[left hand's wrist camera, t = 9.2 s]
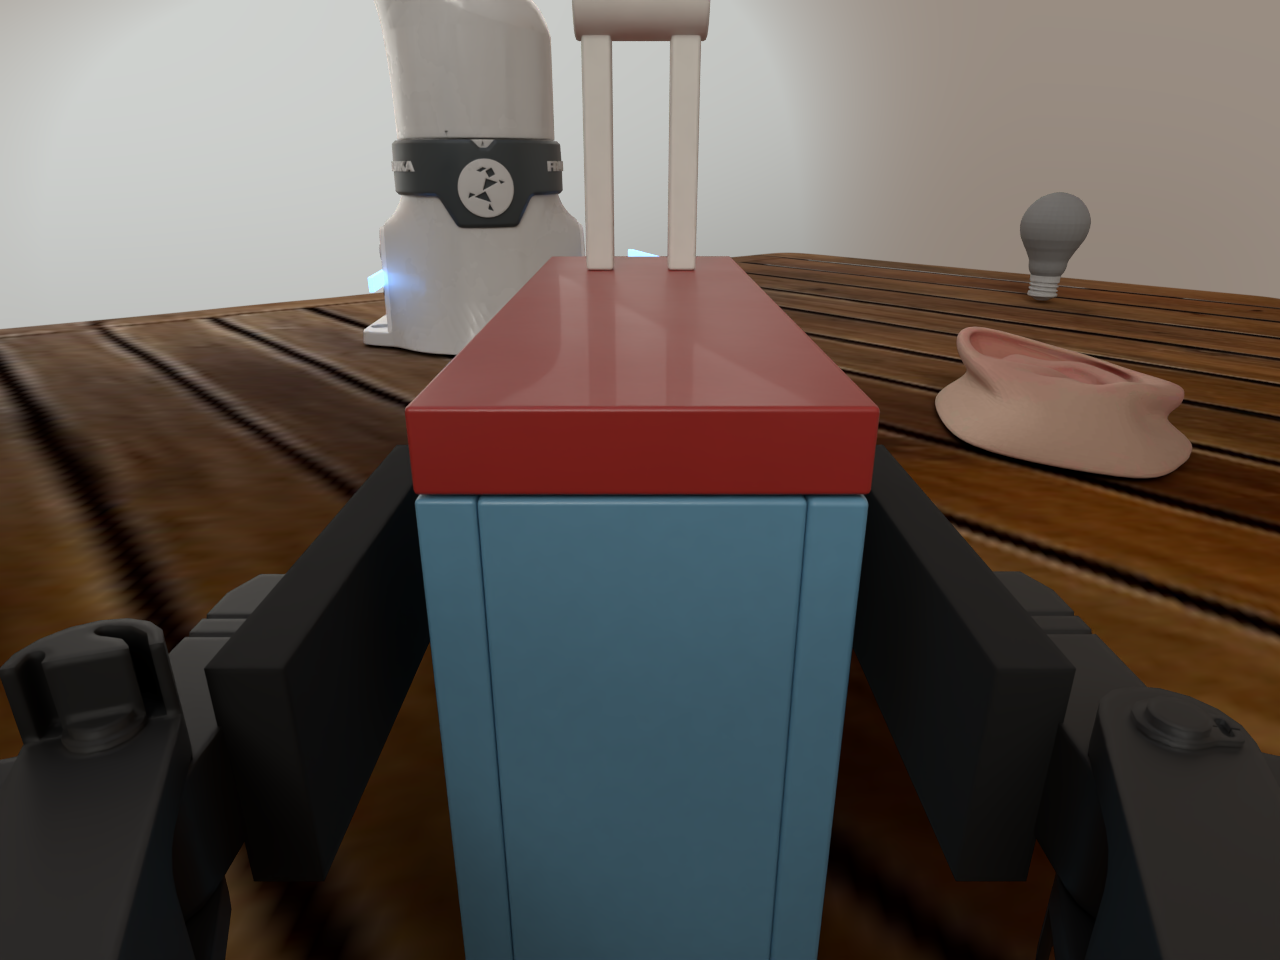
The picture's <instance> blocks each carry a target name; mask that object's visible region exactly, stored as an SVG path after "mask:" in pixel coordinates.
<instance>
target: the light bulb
mask: <svg viewBox="0 0 1280 960" xmlns="http://www.w3.org/2000/svg"><path fill="white" fill-rule="evenodd" d="M1090 224H1091V218H1090V214H1089V211H1088V209H1087V207H1086V205H1085V204H1084V203H1083V202H1082V200H1080V199H1079V198H1078V197H1076V196H1074V195H1071V194H1068V193H1062V192H1059V193H1052V194H1049V195H1046V196H1043V197H1041V198H1040V199H1038V200H1037V201H1035V202H1034V203H1033V204H1032V205H1031V206H1030V207H1029V208H1028V209H1027V211H1026V212H1025V214H1024V216H1023V218H1022V220H1021V225H1020V234H1021V239H1022V241H1023V244H1024V247H1025V249H1026V251H1027V254H1028V257H1029V271H1030V273H1031V275H1030V276H1031V277H1030V281H1032V282H1030V283H1029V284H1031V286H1029V288H1030V290H1029V291H1028V295H1030V296H1031V297H1033V298H1034V299H1036V300H1049V299H1051V298H1053V297H1056V296H1057V294H1056V291H1058V290H1056V288H1057V287H1059V286H1057V283H1059V282H1060V277H1061V275H1062V274H1063V273H1064V271H1065V269H1066V267H1067V263H1068V261H1069V259H1070V258H1071V256H1072V255H1073V254H1074V252H1075V251H1076V250H1077V249H1078V248H1079V246H1080V245H1081V244H1082V242H1083V241H1084V240H1085V238H1086V236H1087V234H1088V232H1089V229H1090Z"/></svg>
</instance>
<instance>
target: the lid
mask: <svg viewBox="0 0 1280 960" xmlns="http://www.w3.org/2000/svg"><path fill="white" fill-rule="evenodd" d="M572 9H573V23H574V32H575V37H576V40H578V41H581V51H582V94H583V136H584V178H585V220H586V256H553V257H551V258H550V259H549V260H548V261H547V262H546V263H545V264H544V265H543V266H542V267H541V268H540V269H539V270H538V271H537V272H536V274H535V275H534V276H533V277H532V278H531V279H530V280H529V281H528V282H527V283H526V284H525V285H524V286H523V287H522V288H521V289H520V290H519V291H518V292H517V293H516V294H515V295H514V296H513V297H512V298H511V299H510V300H509V301H508V302H507V303H506V305H505V306H504V307H503V308H502V309H501V310H500V311H499V312H498V313H497V314H496V315H495V316H494V317H493V318H492V319H491V320H490V321H489V322H488V323H487V324H486V325H485V326H484V327H483V328H482V329H481V330H480V331H479V332H478V333H477V334H476V336H475V337H474V338H473V339H472V340H471V341H470V342H469V343H468V344H467V345H466V346H465V347H464V348H463V349H462V350H461V351H460V352H459V353H458V354H457V355H456V356H455V357H454V358H453V359H452V360H451V361H450V362H449V363H448V364H447V366H446V367H445V368H444V369H443V370H442V371H441V372H440V373H439V374H438V375H437V376H436V377H435V378H434V379H433V380H432V381H431V382H430V383H429V384H428V385H427V386H426V387H425V388H424V389H423V390H422V391H421V392H420V393H419V394H418V395H417V397H416V398H415V399H414V400H413V401H412V402H411V403H410V404H409V405H408V406H407V407H406V409H405V418H406V427H407V436H408V445H409V454H410V463H411V472H412V481H413V489H414V492H415V494H869V493H870V490H871V484H872V476H873V467H874V458H875V449H876V440H877V432H878V423H879V414H880V410H879V407H878V406H877V405H876V404H875V403H874V402H873V401H872V400H871V399H870V398H869V397H868V396H867V395H866V394H865V393H864V392H863V391H862V390H861V389H860V388H859V387H858V386H857V385H856V384H855V383H854V382H853V381H852V380H851V379H850V378H849V377H848V376H847V375H846V374H845V373H844V372H843V371H842V370H841V369H840V368H839V367H838V366H837V365H836V364H835V363H834V362H833V361H832V360H831V359H830V358H829V357H828V356H827V355H826V354H825V353H824V352H823V351H822V350H821V349H820V348H819V347H818V345H817V344H816V343H815V342H814V341H813V340H812V339H811V338H810V337H809V336H808V335H807V334H806V333H805V332H804V331H803V330H802V329H801V328H800V327H799V326H798V325H797V324H796V323H795V322H794V321H793V320H792V319H791V318H790V317H789V316H788V315H787V314H786V313H785V312H784V311H783V310H782V309H781V308H780V307H779V306H778V305H777V304H776V303H775V302H774V301H773V300H772V299H771V298H770V297H769V296H768V295H767V294H766V293H765V292H764V291H763V290H762V289H761V288H760V287H759V286H758V285H757V284H756V283H755V282H754V281H753V280H752V279H751V278H750V277H749V276H748V275H747V274H746V272H745V271H744V270H743V269H742V268H741V267H740V266H739V265H738V264H737V263H736V262H735V261H734V260H733V259H732V258H731V257H728V256H696V220H697V179H698V138H699V97H700V57H701V41H704V40H706V37H707V33H708V25H709V13H710V0H572ZM612 41H670V100H669V101H670V102H669V182H668V183H669V184H668V256H614V186H613V99H612Z"/></svg>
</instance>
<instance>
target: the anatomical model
mask: <svg viewBox="0 0 1280 960" xmlns="http://www.w3.org/2000/svg"><path fill="white" fill-rule="evenodd" d="M957 349H958V353H959V356H960V357H961V359H962V361H963V363H964V365H965V366H966V369H967V371H966V373H965V374H964V375H963V376H962V377H961V378H959V379H958V380H956V381H954V382H953V383H951V384H949V385H948V386H946V387H945V388H944V389H942V390H941V391H940V392H939V393H938V395H937V396H936V400H935V405H936V409H937V412H938V414H939V416H940V418H941V420H942V421H943V423H944V424H945V425H946V427H947V428H948V429H949V430H950V431H951V432H952V433H953V434H954V435H956V436H957V437H958V438H960V439H961V440H963V441H965V442H967V443H969V444H971V445H973V446H976V447H979V448H982V449H984V450H987V451H990V452H994V453H997V454H1001V455H1005V456H1009V457H1012V458H1016V459H1021V460H1025V461H1030V462H1034V463H1039V464H1044V465H1049V466H1055V467H1060V468H1065V469H1071V470H1076V471H1082V472H1088V473H1095V474H1102V475H1108V476H1115V477H1126V478H1156V477H1160V476H1164V475H1166V474H1168V473H1170V472H1172V471H1174V470H1176V469H1177V468H1178V467H1179V466H1181V465H1182V464H1183V463H1184V462H1185V461H1187V459H1188V458H1189V456H1190V453H1191V451H1192V445H1191V443H1190V441H1189V440H1188V439H1187V438H1186V436H1185V435H1183V434H1182V433H1181V432H1180V431H1179V430H1177V429H1176V428H1175V427H1174V426H1173V425H1172V424H1171V423H1170V422H1169V421H1168V419H1167V417H1168V415H1169V414H1170V412H1172V411H1173V410H1174V409H1175V408H1177V407H1178V406H1179V405H1180V404H1181V403H1182V400H1183V398H1184V390H1183V389H1182V388H1181V387H1180V386H1179V385H1176V384H1174V383H1171V382H1169V381H1166V380H1162V379H1159V378H1156V377H1153V376H1149V375H1146V374H1143V373H1139V372H1136V371H1133V370H1130V369H1127V368H1123V367H1120V366H1118V365H1115V364H1112V363H1109V362H1106V361H1103V360H1100V359H1097V358H1094V357H1090V356H1087V355H1084V354H1081V353H1077V352H1074V351H1070V350H1066V349H1063V348H1059V347H1056V346H1052V345H1049V344H1045V343H1042V342H1038V341H1035V340H1031V339H1028V338H1024V337H1021V336H1017V335H1014V334H1010V333H1006V332H1002V331H998V330H993V329H988V328H982V327H969V328H965V329H963V330H962V331H961V332H960V333H959V334H958V337H957Z"/></svg>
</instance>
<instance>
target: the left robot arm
mask: <svg viewBox="0 0 1280 960" xmlns="http://www.w3.org/2000/svg"><path fill="white" fill-rule="evenodd" d="M419 495H420V494H415V492H414V489H413V481H412V472H411V463H410V454H409V445H397V446H396V447H395V448H394V449H393V450H392V451H391V453H390V454H389V455H388V456H387V457H386V458H385V460H384V461H383V462H382V463H381V464H380V465H379V466H378V468H377V469H376V470H375V471H374V472H373V473H372V475H371V476H370V477H369V478H368V479H367V480H366V482H365V483H364V484H363V485H362V486H361V487H360V488H359V490H358V491H357V492H356V493H355V494H354V495H353V497H352V498H351V499H350V500H349V501H348V502H347V503H346V505H345V506H344V507H343V508H342V509H341V510H340V512H339V513H338V514H337V515H336V516H335V517H334V519H333V520H332V521H331V522H330V523H329V524H328V525H327V527H326V528H325V529H324V530H323V531H322V532H321V534H320V535H319V536H318V537H317V538H316V539H315V540H314V542H313V543H312V544H311V545H310V546H309V547H308V549H307V550H306V551H305V552H304V553H303V554H302V556H301V557H300V558H299V559H298V560H297V561H296V562H295V564H294V565H293V566H292V567H291V568H290V569H289V571H288V572H287V573H286V574H260V575H258V576H256V577H255V578H253V579H251V580H249V581H248V582H246V583H244V584H242V585H241V586H239V587H237V588H235V589H233V590H232V591H230V592H228V593H227V594H226V595H225V596H224V597H223V598H222V599H221V600H220V601H219V602H218V603H217V604H216V605H215V606H214V608H213V609H212V610H211V611H210V612H209V613H208V614H207V619H202V620H201V621H200V622H199V623H198V624H197V625H196V626H195V627H194V628H193V629H192V630H191V631H190V632H189V634H190V635H189V637H185V638H184V639H183V640H182V641H181V642H180V643H179V644H178V645H177V646H176V647H175V648H174V649H173V650H172V651H171V652H170V653H169V654H168V651H167V647H166V643H165V639H164V635H163V631H162V629H160V628H159V627H157V626H156V625H154V624H153V623H151V622H149V621H143V620H136V619H130V618H126V619H112V620H100V621H96V622H91V623H87V624H83V625H79V626H74V627H70V628H67V629H65V630H62V631H60V632H57V633H54V634H52V635H49V636H47V637H44V638H41V639H39V640H37V641H36V642H34V643H32V644H30V645H29V646H27V647H25V648H24V649H22V650H20V651H19V652H17V653H15V654H14V655H13V656H12V657H11V658H10V659H9V660H8V661H7V662H6V663H5V664H4V665H3V666H2V667H1V668H0V678H1V680H2V683H3V686H4V689H5V692H6V695H7V698H8V700H9V703H10V706H11V709H12V712H13V715H14V718H15V721H16V723H17V726H18V729H19V732H20V735H21V738H22V741H23V744H24V745H23V747H22V749H21V751H20V752H19V754H18V756H17V757H13V758H8V759H3V760H0V960H225V955H226V948H227V940H228V932H229V924H230V916H231V903H230V897H229V891H228V887H227V883H226V879H225V874H226V872H227V870H228V869H229V867H230V865H231V864H232V862H233V860H234V858H235V857H236V855H237V853H238V852H239V850H240V848H241V846H242V845H243V843H244V841H245V845H246V849H247V854H248V858H249V862H250V866H251V870H252V875H253V879H254V881H324V880H325V878H326V876H327V873H328V871H329V869H330V867H331V864H332V862H333V860H334V857H335V855H336V853H337V851H338V848H339V846H340V844H341V842H342V839H343V837H344V835H345V832H346V830H347V828H348V826H349V823H350V821H351V819H352V817H353V814H354V812H355V810H356V808H357V805H358V803H359V801H360V798H361V796H362V794H363V792H364V789H365V787H366V785H367V783H368V780H369V778H370V776H371V773H372V771H373V769H374V767H375V764H376V762H377V760H378V758H379V755H380V753H381V751H382V749H383V746H384V744H385V742H386V739H387V737H388V735H389V733H390V730H391V728H392V726H393V724H394V721H395V719H396V717H397V714H398V712H399V710H400V708H401V705H402V703H403V701H404V699H405V696H406V694H407V692H408V689H409V687H410V685H411V683H412V680H413V678H414V676H415V674H416V671H417V669H418V667H419V665H420V662H421V660H422V658H423V655H424V653H425V651H426V649H427V646H428V644H429V642H430V635H429V626H428V617H427V608H426V599H425V590H424V581H423V572H422V563H421V554H420V545H419V536H418V527H417V518H416V509H415V501H416V499H417V498H418V496H419ZM863 495H864V496H865V498H866V499H867V501H868V504H869V505H868V514H867V523H866V531H865V540H864V549H863V558H862V567H861V576H860V584H859V593H858V602H857V611H856V620H855V628H854V637H853V649H854V651H855V653H856V655H857V658H858V660H859V662H860V664H861V667H862V669H863V671H864V674H865V676H866V678H867V680H868V683H869V685H870V687H871V689H872V692H873V694H874V696H875V699H876V701H877V703H878V705H879V708H880V710H881V712H882V714H883V717H884V719H885V721H886V724H887V726H888V728H889V730H890V733H891V735H892V737H893V739H894V742H895V744H896V746H897V748H898V751H899V753H900V755H901V758H902V760H903V762H904V764H905V767H906V769H907V771H908V773H909V776H910V778H911V780H912V783H913V785H914V787H915V789H916V792H917V794H918V796H919V798H920V801H921V803H922V805H923V807H924V810H925V812H926V814H927V817H928V819H929V821H930V823H931V826H932V828H933V830H934V832H935V835H936V837H937V839H938V842H939V844H940V846H941V848H942V851H943V853H944V855H945V857H946V860H947V862H948V864H949V866H950V869H951V871H952V873H953V876H954V878H955V880H956V881H1026V879H1027V875H1028V870H1029V866H1030V862H1031V858H1032V854H1033V849H1034V845H1035V841H1036V839H1037V840H1038V842H1039V844H1040V846H1041V847H1042V849H1043V851H1044V852H1045V854H1046V856H1047V857H1048V859H1049V861H1050V863H1051V864H1052V866H1053V868H1054V869H1055V871H1056V875H1055V879H1054V883H1053V887H1052V891H1051V895H1050V899H1049V903H1048V907H1047V911H1046V915H1045V919H1044V923H1043V927H1042V930H1041V934H1040V938H1039V942H1038V948H1037V954H1036V960H1048V959H1049V955H1050V951H1051V947H1052V946H1054V953H1055V960H1280V756H1275V755H1270V754H1266V753H1262V752H1261V751H1260V749H1259V747H1258V745H1257V743H1256V742H1255V741H1254V740H1253V738H1252V737H1251V736H1250V735H1249V734H1248V732H1247V731H1246V730H1245V729H1244V728H1243V727H1242V725H1240V724H1239V723H1237V722H1236V721H1234V720H1233V719H1231V718H1230V717H1229V716H1227V715H1226V714H1224V713H1223V712H1221V711H1220V710H1218V709H1216V708H1214V707H1212V706H1210V705H1208V704H1205V703H1203V702H1201V701H1199V700H1196V699H1194V698H1192V697H1190V696H1186V695H1183V694H1179V693H1175V692H1171V691H1168V690H1164V689H1160V688H1149V687H1146V686H1145V685H1144V683H1143V682H1142V681H1141V680H1140V679H1139V678H1138V677H1137V676H1136V675H1135V674H1134V673H1133V672H1132V671H1131V670H1130V669H1129V668H1128V667H1127V666H1126V665H1125V664H1124V663H1123V662H1122V661H1121V660H1120V659H1119V658H1118V657H1117V656H1116V655H1115V654H1114V653H1113V651H1112V650H1111V649H1110V648H1109V647H1108V646H1107V645H1106V644H1105V643H1104V642H1103V641H1102V640H1101V639H1100V638H1099V637H1098V636H1097V635H1096V634H1092V633H1091V629H1090V628H1089V627H1088V626H1087V625H1086V624H1085V623H1084V622H1083V621H1082V620H1081V618H1080V617H1079V616H1074V611H1073V610H1072V609H1071V608H1070V607H1069V606H1068V605H1067V604H1066V603H1065V602H1064V601H1063V600H1062V599H1061V598H1060V597H1059V596H1058V595H1057V594H1056V593H1055V592H1054V591H1053V590H1052V589H1050V588H1048V587H1047V586H1045V585H1043V584H1041V583H1040V582H1038V581H1036V580H1034V579H1032V578H1031V577H1029V576H1027V575H1025V574H1024V573H1022V572H992V571H991V569H990V568H989V567H988V566H987V565H986V564H985V562H984V561H983V560H982V559H981V558H980V557H979V556H978V554H977V553H976V552H975V551H974V550H973V549H972V547H971V546H970V545H969V544H968V543H967V542H966V540H965V539H964V538H963V537H962V536H961V535H960V534H959V532H958V531H957V530H956V529H955V528H954V527H953V525H952V524H951V523H950V522H949V521H948V520H947V519H946V517H945V516H944V515H943V514H942V513H941V512H940V510H939V509H938V508H937V507H936V506H935V505H934V503H933V502H932V501H931V500H930V499H929V498H928V497H927V495H926V494H925V493H924V492H923V491H922V490H921V488H920V487H919V486H918V485H917V484H916V483H915V481H914V480H913V479H912V478H911V477H910V476H909V475H908V473H907V472H906V471H905V470H904V469H903V468H902V466H901V465H900V464H899V463H898V462H897V461H896V460H895V458H894V457H893V456H892V455H891V454H890V453H889V451H888V450H887V449H886V448H885V447H884V446H883V445H876V449H875V458H874V467H873V476H872V484H871V490H870V493H869V494H863Z"/></svg>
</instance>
